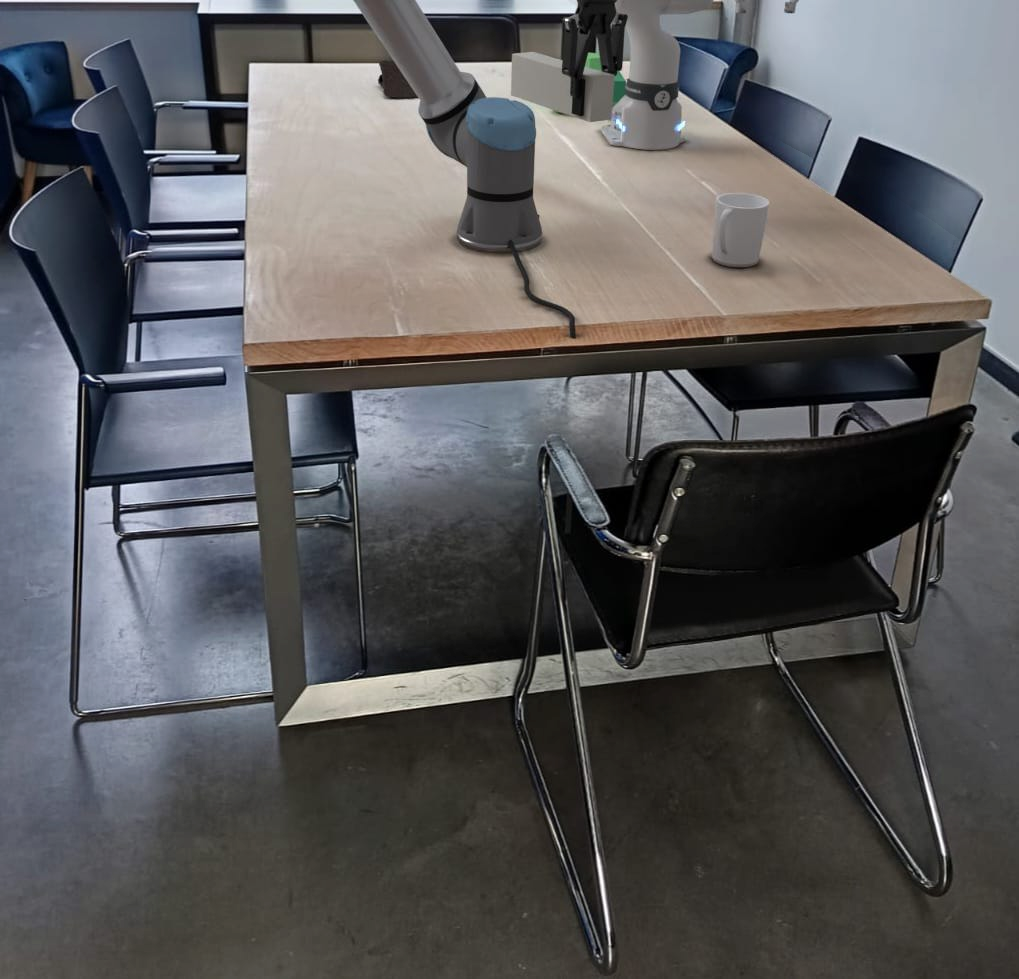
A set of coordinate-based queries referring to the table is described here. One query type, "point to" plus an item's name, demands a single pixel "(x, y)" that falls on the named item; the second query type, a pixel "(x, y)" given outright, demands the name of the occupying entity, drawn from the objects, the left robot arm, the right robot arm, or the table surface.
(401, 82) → the axe head
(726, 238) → the mug
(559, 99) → the bar
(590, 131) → the table surface
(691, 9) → the right robot arm
